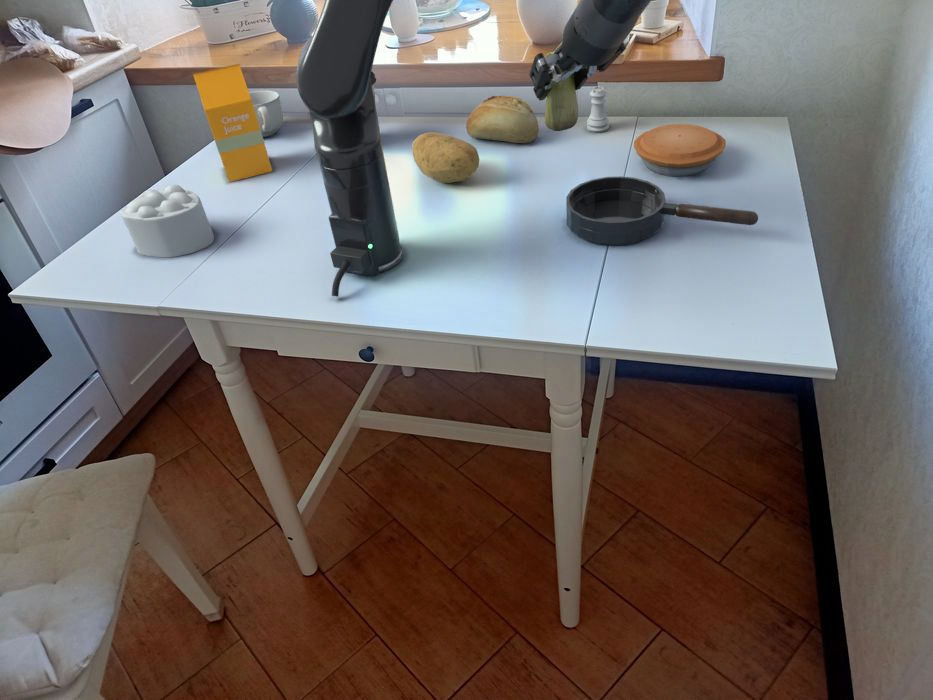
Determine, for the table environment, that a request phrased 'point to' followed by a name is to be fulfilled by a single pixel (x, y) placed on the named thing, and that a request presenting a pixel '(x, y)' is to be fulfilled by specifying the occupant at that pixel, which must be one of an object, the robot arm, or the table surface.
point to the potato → (445, 157)
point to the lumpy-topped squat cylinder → (167, 222)
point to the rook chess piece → (598, 111)
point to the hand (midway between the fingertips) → (556, 89)
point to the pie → (679, 149)
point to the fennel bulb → (561, 104)
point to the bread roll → (503, 120)
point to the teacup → (267, 111)
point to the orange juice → (233, 122)
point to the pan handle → (711, 213)
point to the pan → (615, 210)
